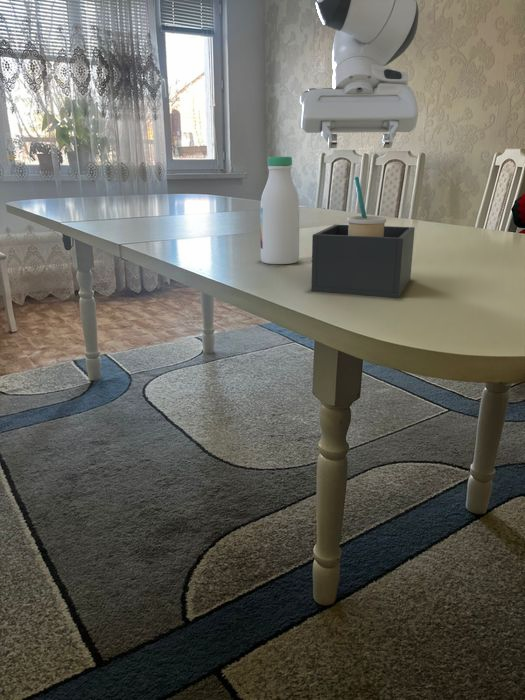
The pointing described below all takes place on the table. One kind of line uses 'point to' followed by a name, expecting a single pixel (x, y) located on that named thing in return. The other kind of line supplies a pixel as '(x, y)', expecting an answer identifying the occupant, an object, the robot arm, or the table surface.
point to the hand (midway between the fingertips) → (360, 145)
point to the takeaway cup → (365, 220)
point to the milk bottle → (279, 214)
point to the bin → (362, 261)
